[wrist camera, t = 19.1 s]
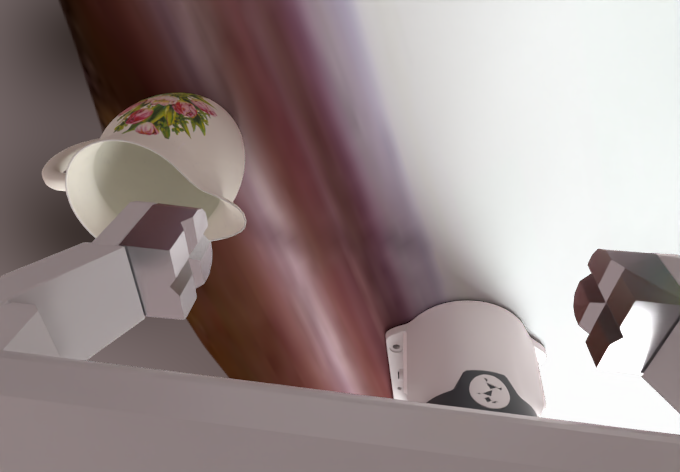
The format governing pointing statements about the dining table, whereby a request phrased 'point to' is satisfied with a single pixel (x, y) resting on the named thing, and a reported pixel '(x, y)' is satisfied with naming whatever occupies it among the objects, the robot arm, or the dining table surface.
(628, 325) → the robot arm
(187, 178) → the pitcher
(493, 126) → the dining table surface
